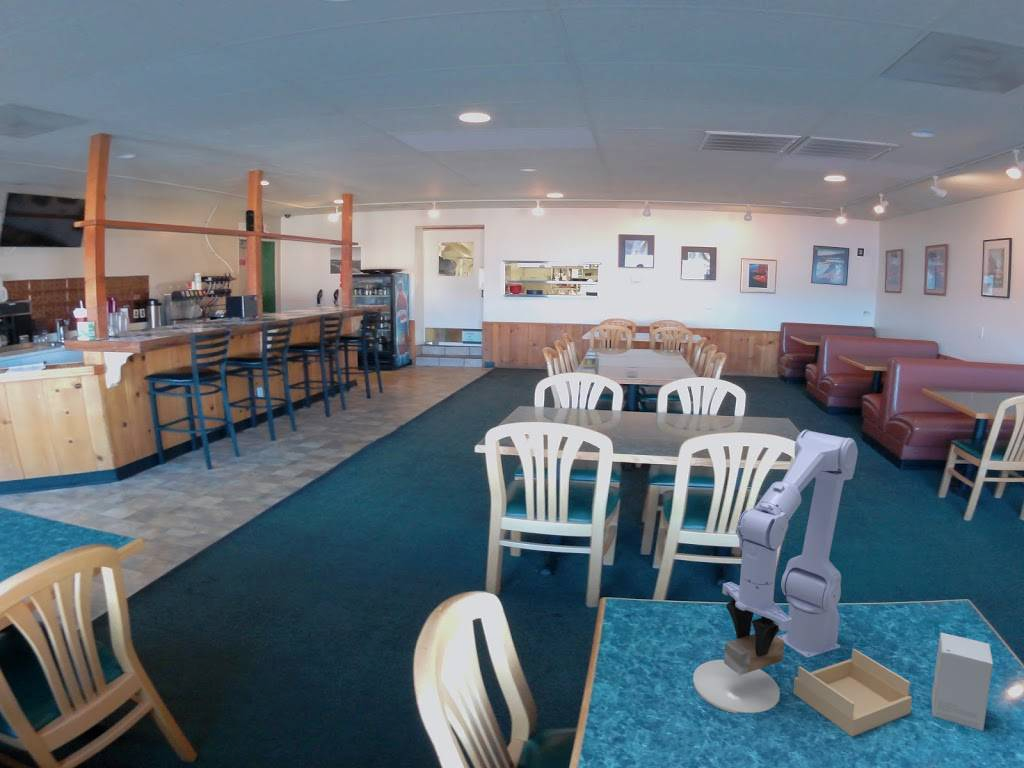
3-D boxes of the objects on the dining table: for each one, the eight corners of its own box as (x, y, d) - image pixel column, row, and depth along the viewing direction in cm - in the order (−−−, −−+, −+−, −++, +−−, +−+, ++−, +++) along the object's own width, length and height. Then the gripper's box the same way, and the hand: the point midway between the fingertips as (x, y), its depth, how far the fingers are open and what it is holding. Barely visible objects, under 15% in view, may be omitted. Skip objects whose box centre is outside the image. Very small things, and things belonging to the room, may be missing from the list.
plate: (737, 656, 131) (738, 652, 131) (798, 701, 117) (798, 697, 117) (676, 674, 125) (676, 671, 125) (732, 724, 111) (733, 720, 111)
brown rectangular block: (765, 649, 124) (767, 629, 123) (782, 660, 120) (783, 640, 119) (723, 663, 119) (725, 642, 119) (740, 675, 116) (741, 654, 115)
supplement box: (984, 734, 109) (994, 664, 107) (931, 718, 113) (940, 650, 111) (981, 709, 116) (990, 643, 113) (931, 694, 119) (939, 630, 117)
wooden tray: (848, 675, 125) (851, 646, 124) (910, 715, 114) (913, 684, 113) (792, 695, 119) (795, 665, 118) (851, 739, 108) (855, 706, 107)
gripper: (711, 564, 121) (707, 632, 124) (772, 600, 108) (766, 675, 111) (740, 557, 124) (736, 624, 127) (803, 592, 111) (796, 665, 114)
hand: (752, 647), depth 119 cm, fingers closed on brown rectangular block, 4 cm apart
